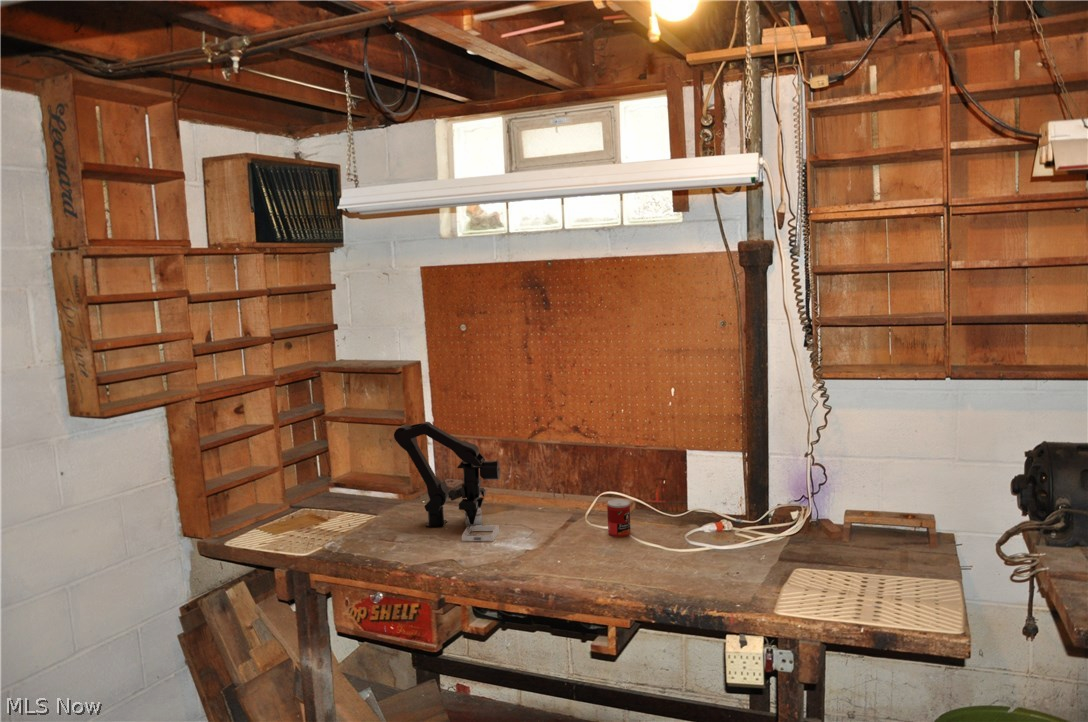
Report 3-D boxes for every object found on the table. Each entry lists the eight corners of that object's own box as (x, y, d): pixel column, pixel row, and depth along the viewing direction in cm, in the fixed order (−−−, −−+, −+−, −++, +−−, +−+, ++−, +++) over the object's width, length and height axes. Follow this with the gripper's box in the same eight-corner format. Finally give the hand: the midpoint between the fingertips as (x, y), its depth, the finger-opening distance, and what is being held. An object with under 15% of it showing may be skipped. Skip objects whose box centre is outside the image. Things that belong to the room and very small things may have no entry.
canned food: (620, 539, 269) (619, 507, 268) (603, 533, 275) (602, 502, 274) (635, 533, 274) (634, 502, 273) (618, 528, 280) (617, 497, 279)
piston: (467, 521, 293) (466, 506, 293) (483, 521, 293) (483, 506, 292) (463, 527, 287) (462, 511, 287) (480, 527, 287) (479, 511, 286)
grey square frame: (468, 530, 284) (468, 525, 283) (499, 530, 282) (498, 525, 282) (461, 541, 272) (461, 536, 272) (493, 542, 271) (492, 536, 271)
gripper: (455, 472, 298) (457, 513, 300) (443, 486, 280) (445, 529, 282) (484, 472, 297) (486, 513, 299) (474, 486, 278) (476, 529, 280)
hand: (473, 521), depth 290 cm, fingers closed on piston, 6 cm apart
